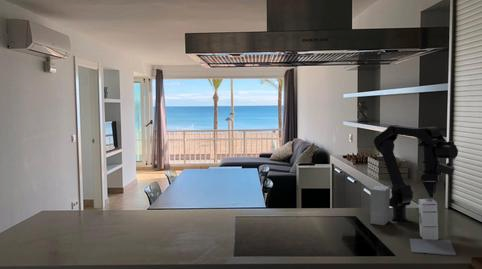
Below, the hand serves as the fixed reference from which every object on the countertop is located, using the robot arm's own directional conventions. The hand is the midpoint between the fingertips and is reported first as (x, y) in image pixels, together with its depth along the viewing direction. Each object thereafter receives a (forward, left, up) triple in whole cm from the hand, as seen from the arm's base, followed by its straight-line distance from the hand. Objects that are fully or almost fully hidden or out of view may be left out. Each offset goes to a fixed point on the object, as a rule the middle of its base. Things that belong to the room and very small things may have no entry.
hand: (432, 195), depth 172 cm
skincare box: (-5, -21, -14) cm, 25 cm away
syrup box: (+13, -3, -14) cm, 19 cm away
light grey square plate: (+25, -3, -14) cm, 28 cm away
